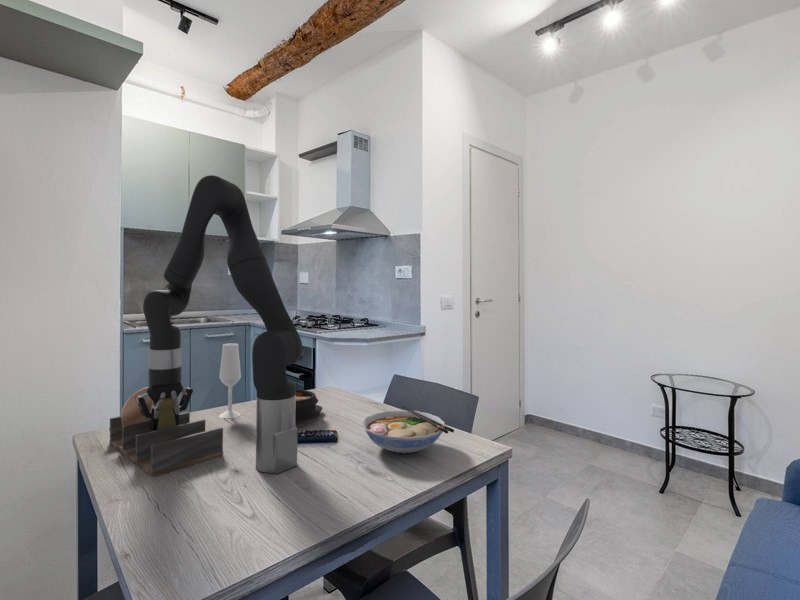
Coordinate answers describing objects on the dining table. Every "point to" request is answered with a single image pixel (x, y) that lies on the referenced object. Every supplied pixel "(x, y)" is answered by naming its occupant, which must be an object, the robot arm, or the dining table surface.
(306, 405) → the casserole
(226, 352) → the champagne flute
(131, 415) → the rack
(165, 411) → the cork
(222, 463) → the dining table surface
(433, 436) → the ramen bowl
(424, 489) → the dining table surface
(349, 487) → the dining table surface
